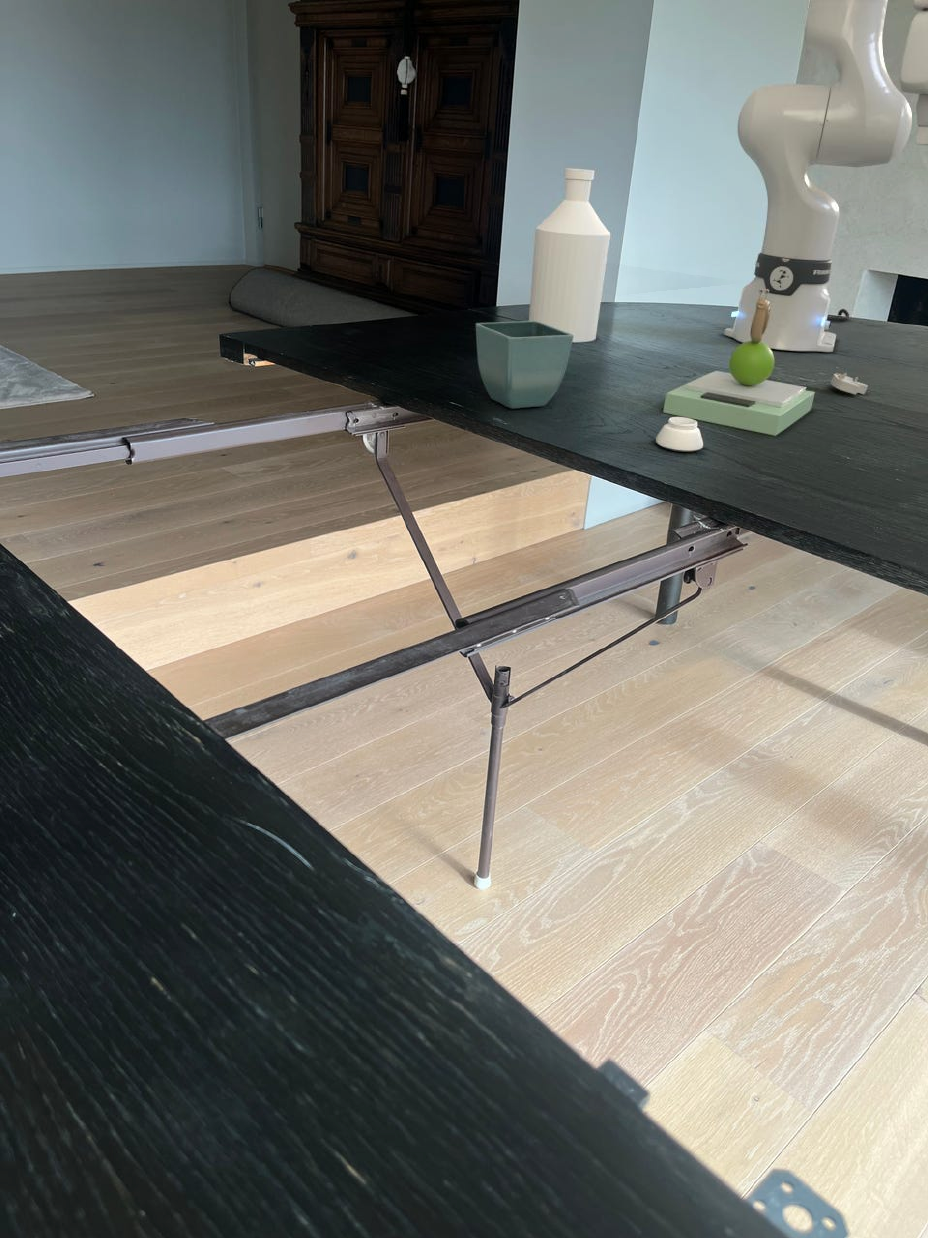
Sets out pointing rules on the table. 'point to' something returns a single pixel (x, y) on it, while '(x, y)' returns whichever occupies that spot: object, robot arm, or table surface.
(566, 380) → the table surface
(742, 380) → the snail figurine
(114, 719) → the table surface
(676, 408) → the scale
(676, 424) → the lidless jar
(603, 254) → the bottle
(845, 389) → the game controller
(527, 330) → the flower pot
